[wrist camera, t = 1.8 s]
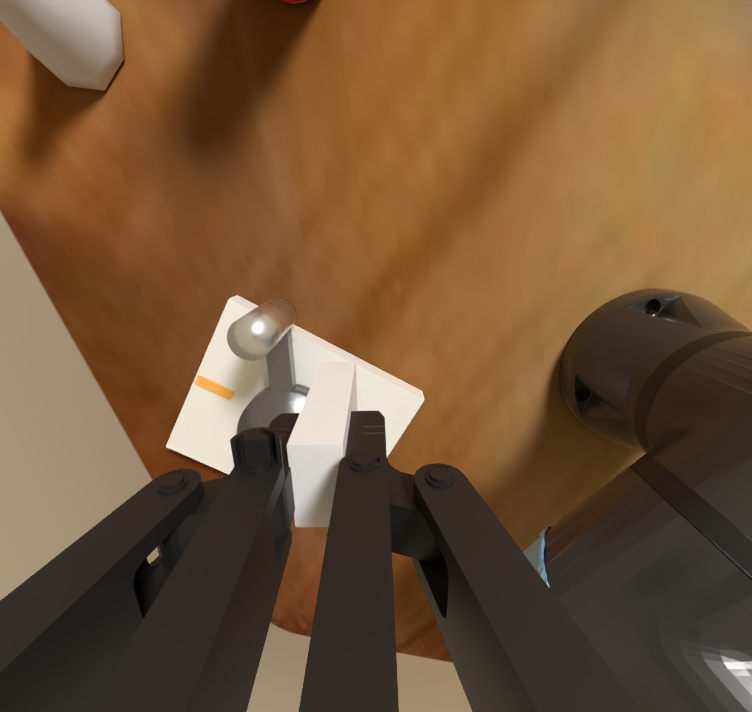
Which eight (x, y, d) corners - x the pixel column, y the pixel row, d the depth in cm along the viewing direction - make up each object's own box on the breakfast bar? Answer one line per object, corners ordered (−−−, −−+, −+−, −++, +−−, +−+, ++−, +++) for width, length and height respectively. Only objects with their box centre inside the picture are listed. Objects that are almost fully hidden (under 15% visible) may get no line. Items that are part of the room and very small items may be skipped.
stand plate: (422, 391, 37) (424, 400, 35) (344, 511, 42) (343, 525, 40) (237, 295, 34) (228, 299, 32) (175, 436, 39) (165, 447, 37)
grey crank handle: (339, 464, 37) (330, 525, 30) (250, 466, 37) (218, 526, 30) (329, 296, 32) (315, 316, 24) (225, 298, 32) (178, 318, 24)
